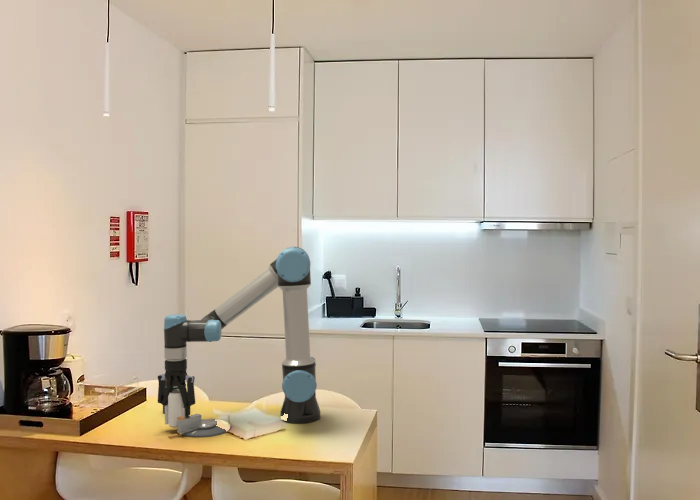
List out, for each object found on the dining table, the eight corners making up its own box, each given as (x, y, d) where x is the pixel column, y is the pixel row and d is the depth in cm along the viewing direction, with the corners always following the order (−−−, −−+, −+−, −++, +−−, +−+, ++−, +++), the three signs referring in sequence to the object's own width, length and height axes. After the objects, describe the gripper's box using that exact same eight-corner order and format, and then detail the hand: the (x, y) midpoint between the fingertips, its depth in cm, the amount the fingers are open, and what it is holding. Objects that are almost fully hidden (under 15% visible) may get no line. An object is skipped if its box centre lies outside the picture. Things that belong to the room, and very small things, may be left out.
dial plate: (240, 424, 228) (240, 421, 228) (214, 439, 211) (214, 436, 211) (197, 419, 234) (197, 416, 234) (168, 434, 217) (168, 431, 217)
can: (184, 427, 217) (183, 393, 217) (165, 427, 217) (165, 393, 217) (189, 422, 223) (189, 388, 223) (172, 422, 224) (171, 389, 224)
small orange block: (176, 435, 215) (176, 433, 215) (178, 436, 214) (178, 434, 214) (168, 437, 213) (168, 435, 213) (170, 438, 212) (170, 436, 212)
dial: (207, 420, 228) (206, 406, 228) (221, 424, 223) (221, 410, 223) (172, 431, 216) (172, 415, 216) (186, 435, 211) (186, 420, 211)
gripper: (205, 358, 219) (206, 423, 220) (158, 355, 226) (159, 418, 226) (193, 362, 212) (195, 429, 213) (145, 359, 218) (146, 424, 219)
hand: (176, 424), depth 220 cm, fingers closed on can, 6 cm apart
